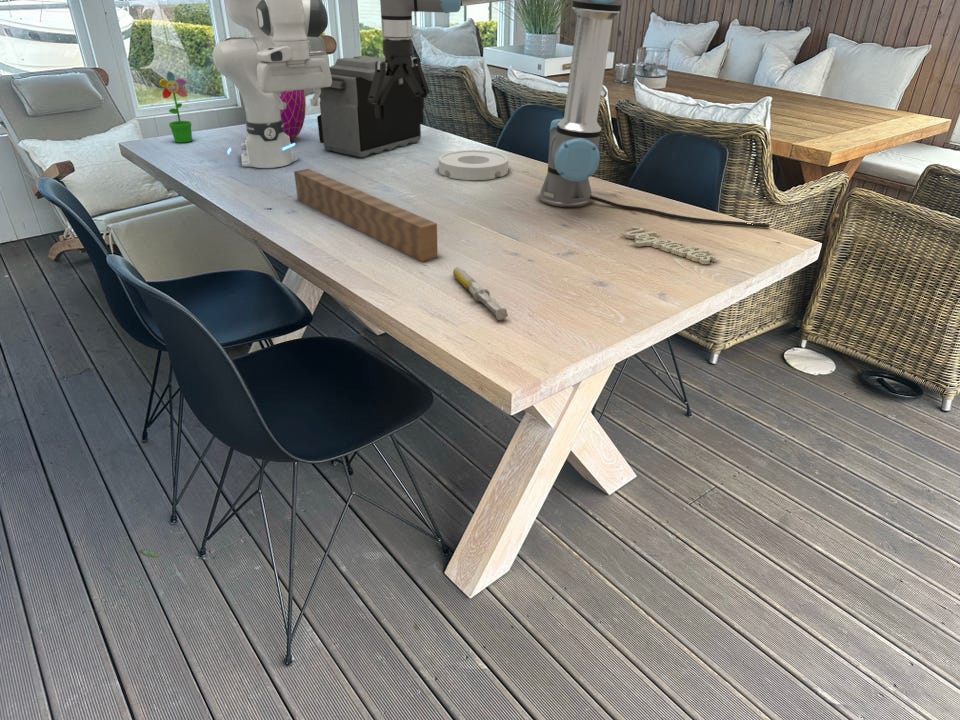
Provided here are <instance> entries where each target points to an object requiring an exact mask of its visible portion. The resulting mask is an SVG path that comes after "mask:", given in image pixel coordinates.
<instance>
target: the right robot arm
mask: <svg viewBox="0 0 960 720" xmlns="http://www.w3.org/2000/svg"><path fill="white" fill-rule="evenodd" d="M507 1H508V0H379V6H380V18H381V19H380V21H381V37H383V39H382V40H381V45H382V54H383V56H384V58H385V62H379V61H376V63H375V74H374V77H373V81H372V85H371V88H370V92H369V96H368V102H370V103H372V104H374V105H375V117H376V118H377V130H378V131H382V132H387V120H386V105H383V103H384V101H385V99H386V96H387V94H388V92H389V90H390V88H391V86H392V84H393V82H395V81H396V79H397V80H398V79H401V78H405V80H406V81H407V83H408V84H409V86H410V87H411V89H412V91H413V92H414V94H415V95H416V96H417V97H413V106H414V123H419V124H421V125H423V124H424V110H425V99H426V98H428V95H430V88H429V86H428V82H427V80H426V76H425V74H424V71H423V69H422V62H421V58H420V57H418V56H413V55H414V42H413V40H412V37H413V35H414V34H413V15H412V14H413V12H415V13H419V12H420V13H421V12H423V13H445V14H449V13H450V14H451V13H458V12H460V11H461V7H465V6H466V7H467V6H474V5H481V4H490V3H497V2H498V3H499V2H507ZM622 3H623V0H572V6H571V7H572V10H573V11H574V13H575V14H576V23H575V32H574V39H573V45H572V53H571V61H570V68H569V69H570V70H569V77H568V83H567V84H568V86H567V92H566V102H565V106H564V115H563V117H562V118H556V119H553V120H551V123H550V127H549V144H548V145H549V146H548V159H547V173H546V176H545V178H544V181H543V184H542V187H541V189H540V193H539V200H540V202H542V203H543V204H546V205H549V206H553V207H558V208H559V207H560V208H580V207H584V206H588V205H589V204H591V203H592V201H596V202H600V203H603V204H606V205H609V206H611V207H615V208H619V209H625V210H632V211H639V212H644V213H645V212H646V213H650V214H654V215H659V216H663V217H667V218H672V219H678V220H682V221H683V220H684V221H691V222H697V223H698V222H699V223H707V224H715V225H716V224H718V225H728V226H729V225H730V226H743V227H755V228H766V229H768V228H769V229H770V225H771V224H769V223H761V222H759V223H757V222H750V223H751V224H747V223H749V222H747V221H734V220H721V219H710V218H700V217H693V216H687V215H678V214H675V213H668V212H665V211H661V210H657V209H652V208H646V207H641V206H633V205H625V204H620V203H616V202H613V201H610V200H607V199H604V198H601V197H597V196H593V193H592V188H591V184H590V179H589V178H590V177H591V176H593V175H594V174H595V173H596V171H597V169H598V167H599V165H600V161H601V157H600V156H601V154H600V150H599V147H600V142H601V141H600V140H601V135H602V127H601V125H600V124H599V123H598V117H599V109H600V103H601V97H602V89H603V84H604V77H605V72H606V71H605V70H606V66H607V58H608V51H609V45H610V38H611V34H612V33H611V32H612V27H613V21H614V19H615V18H616V17H617V16H618V15H619V14H621V9H622ZM410 68H412V70H411V69H410ZM412 71H413V72H412ZM389 75H390V76H389ZM373 97H374V98H373ZM379 99H380V100H379ZM745 222H746V223H745ZM752 224H753V225H752Z"/></svg>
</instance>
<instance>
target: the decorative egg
mask: <svg viewBox="0 0 960 720" xmlns="http://www.w3.org/2000/svg"><path fill="white" fill-rule="evenodd" d="M279 97H280V99H281V100H282V102H286V107H287V109H284V110H280V114H281V119H282V120H283V124H284V133H285V134H286V135H288V136H289V138H290V141H291V140H293V139H296V138H297V137H298V136H299V134H301V131H302V129H303V127H304V123H305V118H306V104H307V103H306V102H307V101H306V99H307V97H306V93H305V89H304V90H293V91H283V92H281V96H279Z"/></svg>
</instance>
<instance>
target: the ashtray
mask: <svg viewBox="0 0 960 720" xmlns="http://www.w3.org/2000/svg"><path fill="white" fill-rule="evenodd" d="M438 172H439V173H440V175H442V176H445V177H450V179H456V180H461V181H487V180H492V179H493V180H494V179H495V178H496V177H497V178H498V177H499V178H501V177H504V176H505V175H507V174H508V172H509V157H508V156H507V155H505V154H503V153H501V152H497V151H492V150H484V149H462V150H454V151H449V152H445V153H442V154H440V156H439V157H438Z"/></svg>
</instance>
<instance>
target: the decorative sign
mask: <svg viewBox="0 0 960 720" xmlns="http://www.w3.org/2000/svg"><path fill="white" fill-rule="evenodd" d="M624 238H626V239H629V240H630V239H631V240H634V247H636V248H639V247H653V248H655V249H660V250H661V251H663V252H667V253H671V254H673V255H677V256H679V257H685V259H687V260H691V261H693V262H696V263H697V262H698V263H700V264H702V265H709V264H710V261H711V262H712V263H715V262H716V258H717V257H716V256H715V255H711V254H710V250H709V249H700V247H699V246H697V245H696V246H686V247H685V246H684V245H683V243H682V242H681V241H677V240H676V241H675V240H673V239H667V240H666V239H662V238H658V237H657V232H656V231H645V228H643V227H639V226H631V229H630V231H625V234H624ZM709 254H710V255H709Z"/></svg>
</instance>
